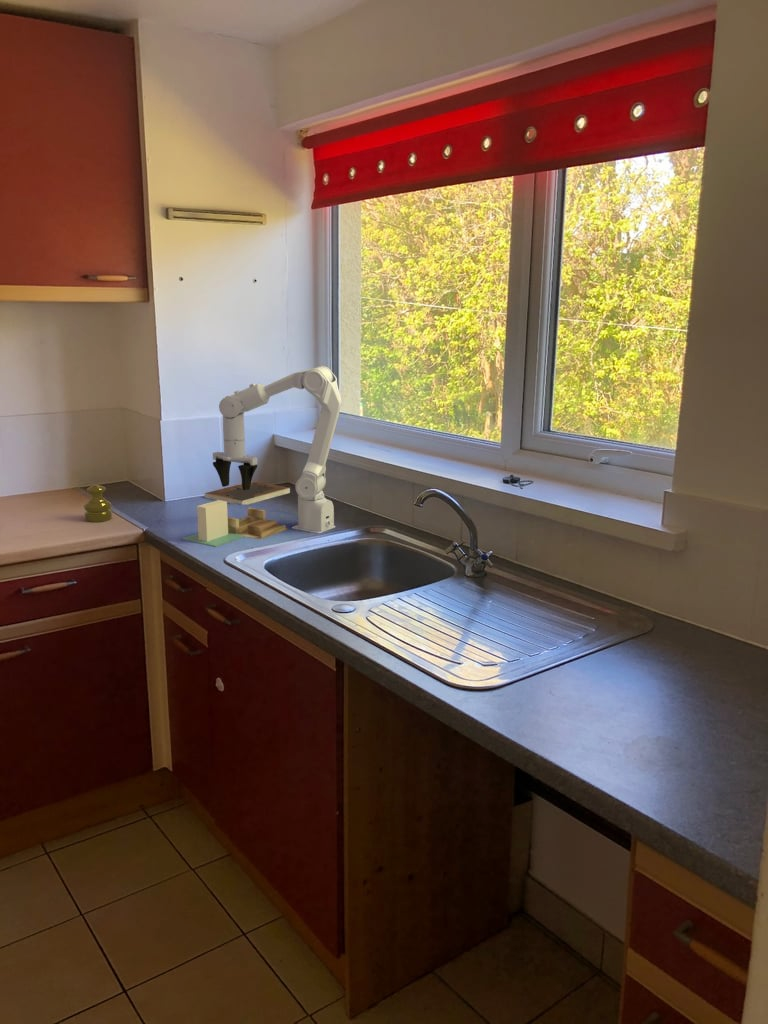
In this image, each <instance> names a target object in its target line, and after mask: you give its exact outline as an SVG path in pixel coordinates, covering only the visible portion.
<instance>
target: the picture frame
mask: <svg viewBox="0 0 768 1024" xmlns="http://www.w3.org/2000/svg"><path fill="white" fill-rule="evenodd" d="M240 484H241V485H239V484H235V485H231V486H226V487H223V488H220V489H216V490H211V491H207V492H204V498H205V499H206V500H207V499H208V500H213V501H217V500H221V501H227V504H231V505H235V504H239V505H242V506H243V505H246V506H247V505H251V504H254V503H259V502H261V501H265V500H269V499H272V498H277V497H279V496H284V495H287V494H290V493H291V487H287V486H281V485H276V484H272V483H271V484H270V483H265V482H260V481H256V482H253V483H251V484H250V489H248V490H243V488H242V483H240Z"/></svg>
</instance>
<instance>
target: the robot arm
mask: <svg viewBox="0 0 768 1024" xmlns="http://www.w3.org/2000/svg"><path fill="white" fill-rule="evenodd" d="M338 386H339V385H338V378H337V376H336V375H335V374H334V373H333V371H332V370H331V369H330V368H329V367H328V366H324V365H320V366H319V365H318V366H316V367H315V368H307V369H305V370H301V371H297V372H293V373H291V374H288V375H287V376H285V377H282V378H280V379H277V380H276V381H274V382H271V383H270V384H267V385H263V384H261V383H256V382H253V383H250V384H249V387H246V388H244V389H242V390H235V391H234V392H233V393H234V394H232V395H231V394H230V395H226V396H224V397H223V398H222V399H221V400H220V401H219V404H218V408H219V410H218V411H219V412H220V413H221V415H222V436H223V452H222V451H215V452H212V460H213V462H212V466H213V467H214V469H215V471H216V472H217V475H218V477H219V480H220V483H221V486H222V487H223V488H226V487H230V486H229V485H230V470H231V465H232V463H238V464H240V465H237V466H238V467H237V468H238V469H239V472H240V477H241V484H242V488H243V490H248V489H250V484H251V481H253V477H254V473H255V472H256V470H257V468H258V457H255V456H251V455H249V454H246V441H245V419H244V415H245V412H250V411H252V410H255V409H257V408H259V407H261V406H264V405H266V404H268V403H269V401H270V398H271V397H273V396H275V395H278V394H280V393H284V392H286V391H288V390H291V389H293V388H295V389H299V390H303V389H305V390H306V391H307V392H308V393H309V394H310V395H312V396H313V397H315V399H316V401H318V403H319V405H320V407H321V409H320V411H319V412H320V413H319V416H318V419H317V424H316V427H315V431H314V434H313V439H312V443H311V446H310V451H309V454H308V456H307V461H306V463H305V465H304V468H303V470H302V471H301V472H302V474H301V475H300V477H299V478H298V479H297V481H296V482H295V486H294V487H295V491H296V493H297V512H298V513H297V516H298V519H297V520H298V522H297V524H296V525H294V526H292V527H291V529H295V530H297V531H298V530H299V531H304V532H309V533H313V534H321V533H324V532H327V531H330V530H332V529H335V528H336V525H335V511H334V510H335V509H334V507H335V506H334V504H333V501H332V500H330V499H327V498H326V497H325V494H324V491H323V490H324V488H325V487H326V484H327V479H326V472H327V467H326V466H327V465H326V463H327V461H328V457H329V452H330V449H331V445H332V442H333V438H334V436H335V435H334V434H335V430H336V428H337V427H336V426H337V423H338V419H339V416H340V411H341V407H342V402H343V400H342V397H341V394H340V390H339V389H340V388H338ZM214 460H215V461H214Z"/></svg>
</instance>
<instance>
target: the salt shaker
mask: <svg viewBox="0 0 768 1024" xmlns="http://www.w3.org/2000/svg"><path fill="white" fill-rule="evenodd" d="M86 491H87V492H88V493H89V494H90V495H91V497H90V498H89V500H88V501H87V502H85V503H84V504H83V509H84V519H85V521H86V522H90V523H102V522H107V521H110V520H111V519H112V518H113V515H112V514H113V513H112V512H113V511H112V509H111V508H112V503H111V502H110V501H109V500H107V499H106V498H104V497H103V493H104V492H105V491H106V487H105V486H103V485H100V484H97V483H96V484H92V485H91V486H90V487H88V488H86Z"/></svg>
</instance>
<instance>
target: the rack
mask: <svg viewBox="0 0 768 1024" xmlns="http://www.w3.org/2000/svg"><path fill="white" fill-rule="evenodd" d="M246 515H247V516H246V517H243V518H235V517H229V516H228V532H229V533H234V534H239V535H243V536H245V537H247V538H252V539H256V540H262V539H264V538H265V539H266V538H267V537H271V536H273V535H276V534H279V533H280V532H284V531H287V530H288V528H287V527H286V524H283V525H280V526H279V527H277V528H274V529H271V530H268V531H265V532H263V533H260V536H256V535H251V534H248V526H247V525H250V524H253V523H256V522H259V521H262V520H265V519H267V517H266V516H267V514H266V510H265V509H260V508H253V507H247V508H246Z"/></svg>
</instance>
